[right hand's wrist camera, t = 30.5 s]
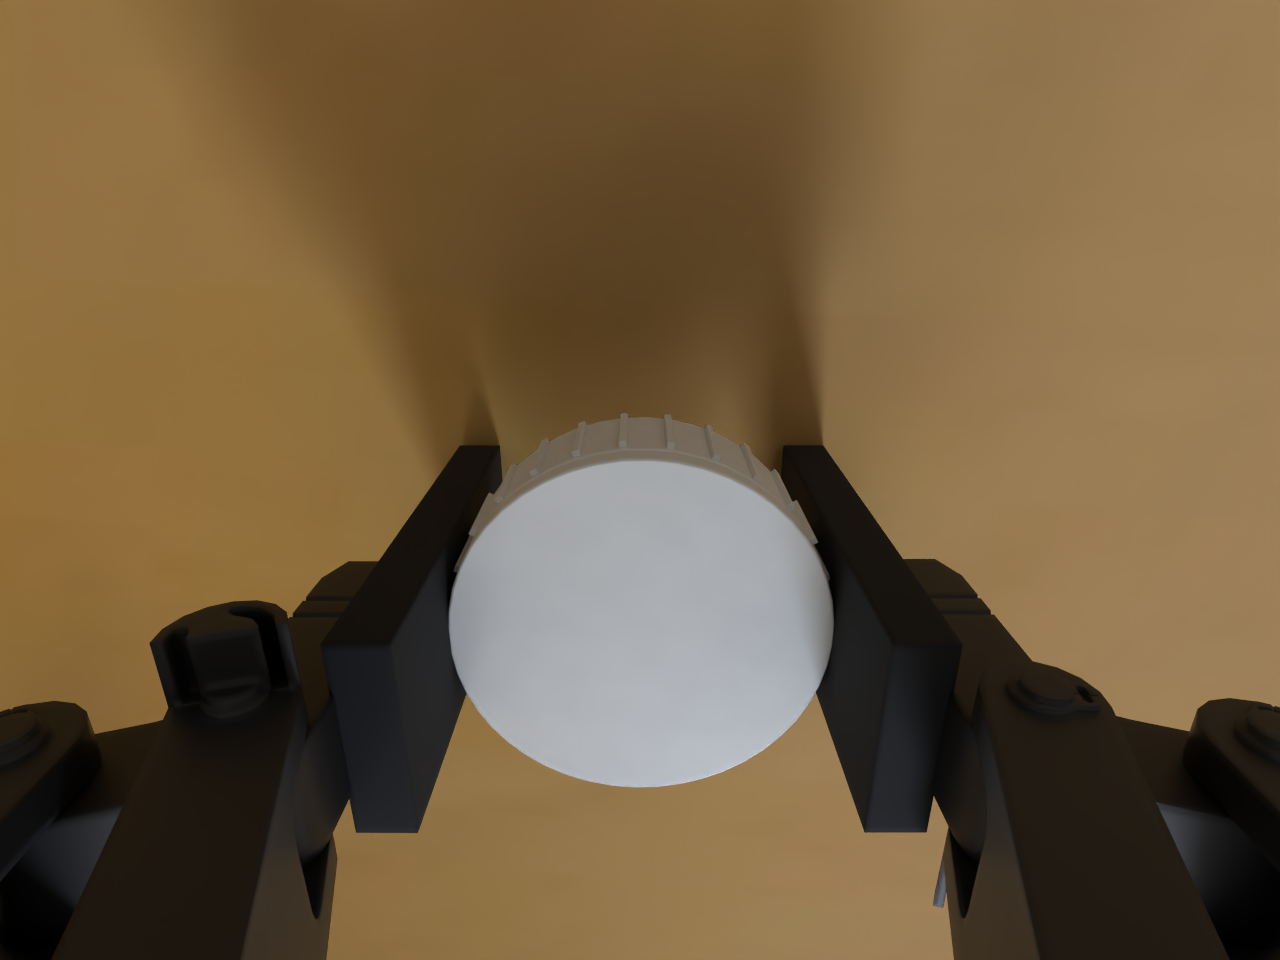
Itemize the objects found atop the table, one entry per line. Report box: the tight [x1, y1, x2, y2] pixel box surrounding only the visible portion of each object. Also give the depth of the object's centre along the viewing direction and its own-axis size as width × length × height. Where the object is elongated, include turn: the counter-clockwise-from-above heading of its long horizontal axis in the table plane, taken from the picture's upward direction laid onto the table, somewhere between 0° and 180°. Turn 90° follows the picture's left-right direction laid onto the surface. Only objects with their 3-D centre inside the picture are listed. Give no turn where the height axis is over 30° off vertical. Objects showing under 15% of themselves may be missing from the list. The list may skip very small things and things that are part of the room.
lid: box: [448, 413, 834, 787], centre depth 11 cm, size 6×6×2 cm
